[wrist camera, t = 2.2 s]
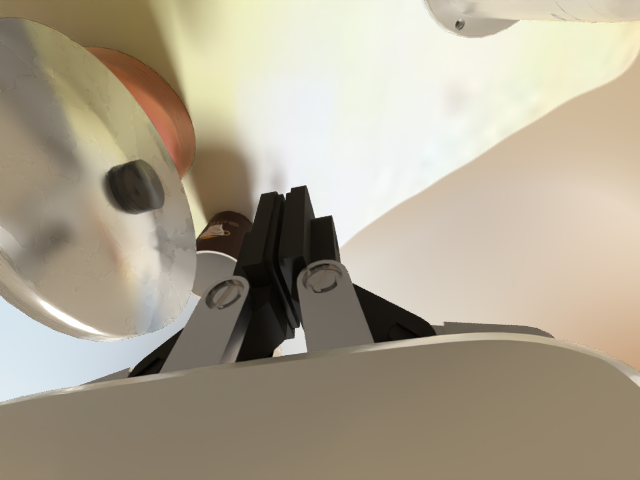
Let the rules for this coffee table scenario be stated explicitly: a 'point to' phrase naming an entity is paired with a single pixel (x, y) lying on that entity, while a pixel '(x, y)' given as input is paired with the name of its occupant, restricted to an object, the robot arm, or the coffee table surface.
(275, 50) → the coffee table surface
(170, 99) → the red-brown rounded block
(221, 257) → the coffee mug
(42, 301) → the cooker lid
